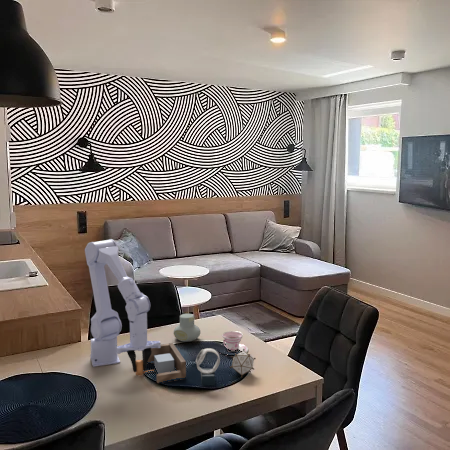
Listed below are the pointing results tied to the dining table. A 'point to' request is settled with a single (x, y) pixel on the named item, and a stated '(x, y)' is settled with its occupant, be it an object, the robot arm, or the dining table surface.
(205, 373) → the watch
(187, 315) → the air freshener
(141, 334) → the robot arm
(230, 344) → the teacup
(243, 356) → the game die
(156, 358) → the pull block
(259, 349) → the dining table surface
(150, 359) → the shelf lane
